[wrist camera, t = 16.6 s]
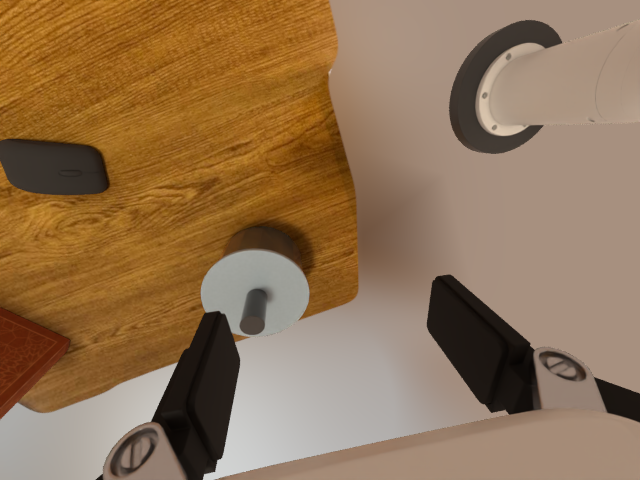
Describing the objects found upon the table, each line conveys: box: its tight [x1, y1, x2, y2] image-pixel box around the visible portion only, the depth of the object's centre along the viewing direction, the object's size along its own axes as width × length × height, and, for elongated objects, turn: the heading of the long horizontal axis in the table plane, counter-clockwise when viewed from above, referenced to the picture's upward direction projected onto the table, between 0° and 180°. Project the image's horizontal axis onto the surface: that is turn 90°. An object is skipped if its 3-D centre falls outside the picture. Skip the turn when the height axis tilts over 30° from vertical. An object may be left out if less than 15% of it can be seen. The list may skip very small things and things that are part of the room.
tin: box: [218, 226, 303, 271], centre depth 39 cm, size 14×14×10 cm
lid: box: [201, 249, 309, 337], centre depth 32 cm, size 15×15×7 cm
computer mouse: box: [0, 139, 107, 195], centre depth 31 cm, size 6×11×4 cm, turn 84°
